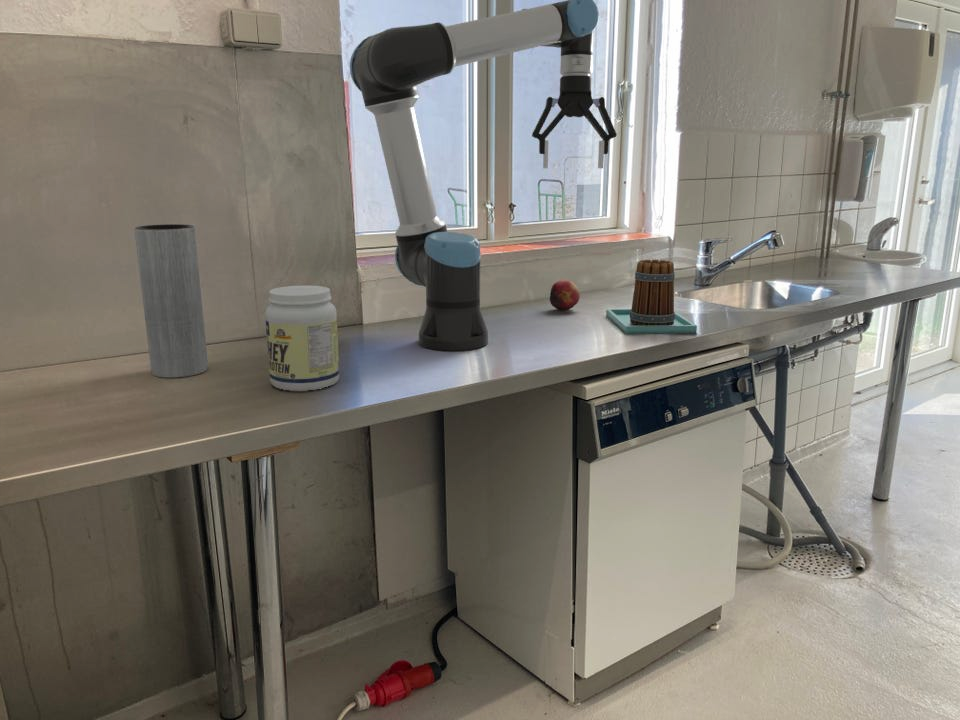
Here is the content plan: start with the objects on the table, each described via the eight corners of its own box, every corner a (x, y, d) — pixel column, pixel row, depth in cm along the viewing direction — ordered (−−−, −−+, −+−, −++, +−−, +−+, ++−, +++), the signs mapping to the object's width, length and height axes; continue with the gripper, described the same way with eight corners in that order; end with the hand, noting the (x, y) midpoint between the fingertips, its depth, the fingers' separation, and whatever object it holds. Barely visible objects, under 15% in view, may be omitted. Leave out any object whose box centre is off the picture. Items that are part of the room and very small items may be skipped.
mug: (675, 329, 172) (679, 265, 168) (629, 327, 174) (632, 264, 170) (672, 316, 186) (676, 256, 182) (629, 314, 188) (632, 255, 184)
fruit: (583, 312, 195) (584, 282, 192) (557, 314, 192) (558, 283, 190) (569, 307, 202) (570, 277, 199) (544, 309, 199) (545, 279, 197)
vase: (148, 380, 134) (130, 229, 127) (155, 366, 143) (138, 224, 136) (206, 376, 136) (192, 228, 129) (209, 362, 146) (196, 223, 138)
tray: (625, 334, 170) (625, 326, 169) (606, 315, 190) (606, 309, 189) (696, 333, 171) (696, 325, 170) (669, 315, 191) (670, 308, 190)
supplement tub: (257, 383, 132) (249, 289, 128) (316, 370, 140) (311, 281, 136) (293, 398, 124) (286, 298, 119) (353, 383, 132) (349, 289, 128)
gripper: (525, 73, 171) (523, 168, 176) (632, 74, 172) (627, 168, 177) (522, 77, 178) (520, 168, 183) (624, 77, 179) (619, 168, 185)
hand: (573, 168), depth 180 cm, fingers open, 13 cm apart
